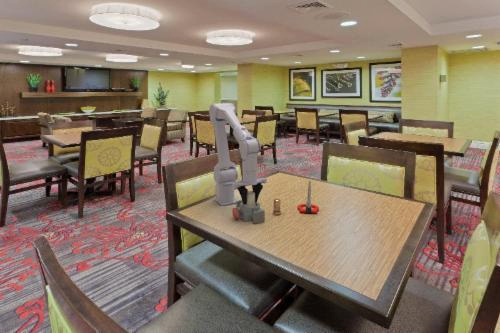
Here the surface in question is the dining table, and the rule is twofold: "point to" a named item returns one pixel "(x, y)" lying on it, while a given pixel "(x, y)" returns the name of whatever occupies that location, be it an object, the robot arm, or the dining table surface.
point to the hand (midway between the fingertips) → (249, 202)
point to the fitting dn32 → (276, 207)
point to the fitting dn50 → (250, 199)
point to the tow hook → (308, 204)
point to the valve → (249, 212)
